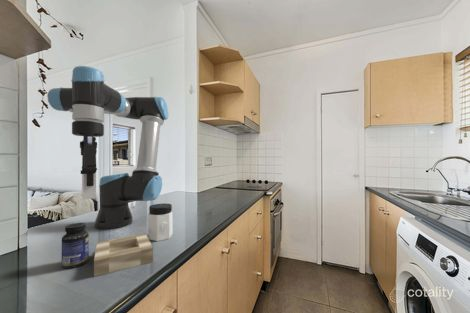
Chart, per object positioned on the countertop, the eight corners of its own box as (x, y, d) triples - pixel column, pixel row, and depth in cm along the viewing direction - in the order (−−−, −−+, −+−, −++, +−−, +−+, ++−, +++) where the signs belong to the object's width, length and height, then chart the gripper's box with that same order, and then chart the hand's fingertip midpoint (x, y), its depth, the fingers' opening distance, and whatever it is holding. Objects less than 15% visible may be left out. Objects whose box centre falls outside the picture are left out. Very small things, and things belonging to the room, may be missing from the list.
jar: (150, 243, 72) (150, 209, 72) (146, 236, 79) (146, 205, 79) (175, 237, 77) (175, 205, 77) (169, 231, 84) (169, 202, 84)
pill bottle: (91, 263, 58) (91, 224, 58) (63, 272, 54) (63, 230, 54) (85, 256, 62) (85, 220, 63) (59, 264, 58) (59, 225, 58)
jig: (97, 252, 65) (97, 239, 65) (144, 242, 73) (144, 231, 73) (93, 276, 51) (93, 260, 51) (152, 261, 59) (152, 247, 59)
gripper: (72, 126, 67) (72, 191, 66) (71, 112, 47) (71, 204, 47) (99, 128, 71) (99, 189, 71) (109, 116, 52) (109, 199, 51)
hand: (88, 195), depth 59 cm, fingers open, 13 cm apart
